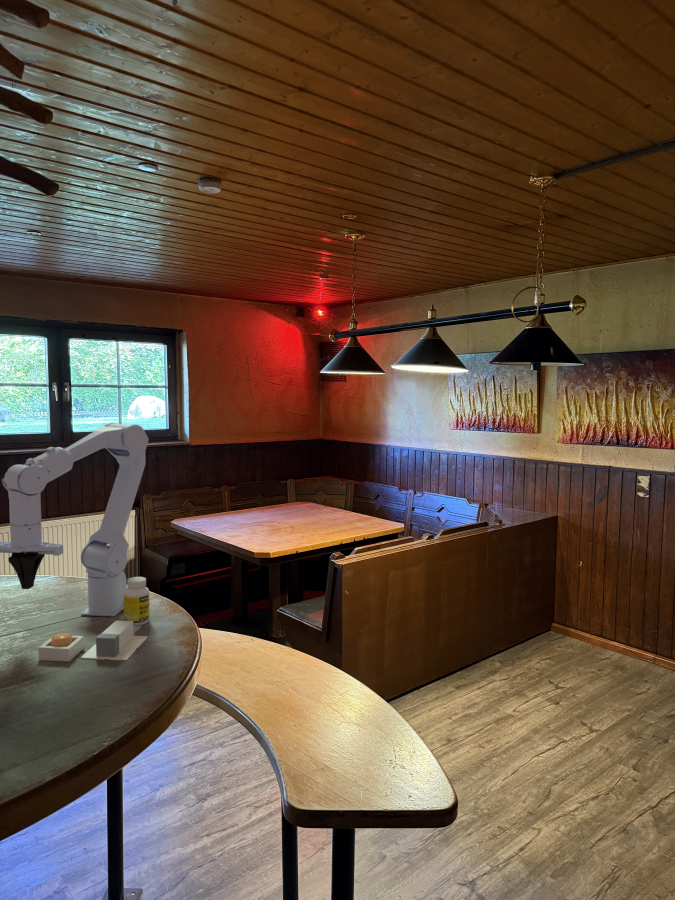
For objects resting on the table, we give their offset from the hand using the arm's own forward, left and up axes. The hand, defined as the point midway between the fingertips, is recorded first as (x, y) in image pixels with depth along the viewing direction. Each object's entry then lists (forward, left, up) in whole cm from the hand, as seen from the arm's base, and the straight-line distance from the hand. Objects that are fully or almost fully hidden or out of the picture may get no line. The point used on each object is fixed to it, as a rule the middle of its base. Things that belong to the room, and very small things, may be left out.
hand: (27, 587), depth 125 cm
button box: (+8, +11, -10) cm, 17 cm away
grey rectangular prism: (+4, +20, -10) cm, 23 cm away
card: (-5, +18, -10) cm, 21 cm away
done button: (+8, +11, -10) cm, 17 cm away
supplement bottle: (-10, +19, -11) cm, 24 cm away
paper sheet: (+4, +20, -10) cm, 23 cm away
